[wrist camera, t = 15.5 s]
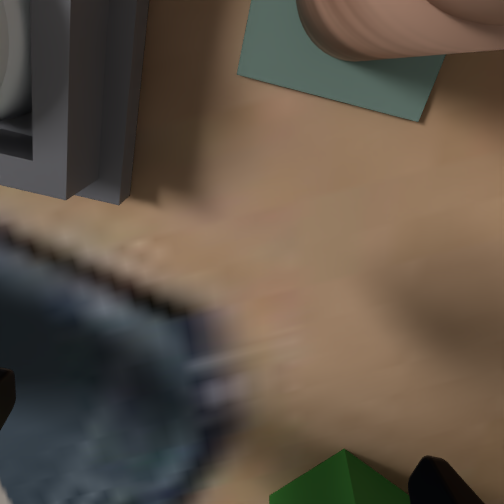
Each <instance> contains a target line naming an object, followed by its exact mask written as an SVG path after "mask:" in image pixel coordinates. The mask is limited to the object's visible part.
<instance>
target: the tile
mask: <svg viewBox="0 0 504 504" xmlns="http://www.w3.org/2000/svg"><path fill="white" fill-rule="evenodd" d="M445 56H446V54H443V55H431V56H418V57H406V58H393V59H381V60H369V61H356V62H353V61H344V60H339V59H336V58H334V57H331V56H329V55H328V54H326V53H324V52H323V51H322V50H320V49H319V48H318V47H317V46H316V45H315V44H314V43H313V42H312V41H311V39H310V38H309V37H308V35H307V34H306V32H305V30H304V28H303V26H302V24H301V21H300V19H299V15H298V11H297V5H296V0H251V5H250V10H249V15H248V20H247V25H246V30H245V35H244V40H243V45H242V50H241V55H240V60H239V66H238V71H237V75H241V76H244V77H248V78H252V79H256V80H260V81H264V82H267V83H271V84H275V85H279V86H283V87H286V88H290V89H294V90H298V91H302V92H306V93H309V94H313V95H317V96H321V97H325V98H328V99H332V100H336V101H340V102H344V103H348V104H351V105H355V106H359V107H363V108H367V109H370V110H374V111H378V112H382V113H386V114H390V115H393V116H397V117H401V118H405V119H409V120H412V121H416V122H418V121H419V119H420V117H421V114H422V112H423V109H424V107H425V104H426V102H427V99H428V97H429V95H430V92H431V90H432V87H433V85H434V82H435V80H436V77H437V75H438V73H439V70H440V68H441V65H442V63H443V60H444V58H445Z"/></svg>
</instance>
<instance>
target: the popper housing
mask: <svg viewBox="0 0 504 504" xmlns="http://www.w3.org/2000/svg"><path fill="white" fill-rule="evenodd" d="M148 7H149V0H30V14H31V75H32V111H31V112H28V113H26V114H24V115H22V116H18V117H14V118H10V119H5V120H0V185H3V186H7V187H11V188H16V189H20V190H24V191H29V192H33V193H37V194H41V195H46V196H50V197H54V198H59V199H63V200H67V199H69V198H70V197H72V196H73V195H77V196H81V197H86V198H90V199H94V200H98V201H103V202H107V203H111V204H116V205H120V204H121V203H122V202H123V201H124V200H125V199H126V198H128V197H129V196H130V188H131V178H132V168H133V158H134V148H135V138H136V128H137V118H138V107H139V97H140V87H141V77H142V67H143V57H144V47H145V37H146V27H147V17H148Z"/></svg>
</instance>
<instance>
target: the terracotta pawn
mask: <svg viewBox="0 0 504 504" xmlns="http://www.w3.org/2000/svg"><path fill="white" fill-rule="evenodd" d="M296 5H297V11H298V15H299V19H300V21H301V24H302V26H303V28H304V30H305V32H306V34H307V35H308V37H309V38H310V39H311V41H312V42H313V43H314V44H315V45H316V46H317V47H318V48H319V49H320V50H322V51H323V52H324V53H326V54H328V55H329V56H331V57H334V58H336V59H339V60H344V61H353V62H356V61H369V60H381V59H393V58H406V57H418V56H431V55H443V54H455V53H468V52H480V51H492V50H504V0H296Z"/></svg>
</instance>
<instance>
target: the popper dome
mask: <svg viewBox="0 0 504 504" xmlns="http://www.w3.org/2000/svg"><path fill="white" fill-rule="evenodd" d="M31 111H32V75H31V14H30V0H0V120H5V119H10V118H14V117H18V116H22V115H24V114H26V113H28V112H31Z"/></svg>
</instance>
